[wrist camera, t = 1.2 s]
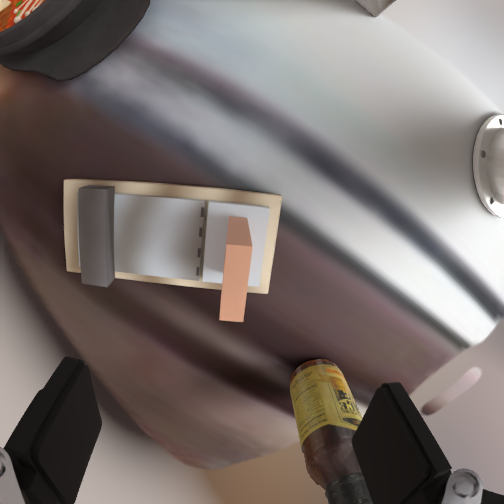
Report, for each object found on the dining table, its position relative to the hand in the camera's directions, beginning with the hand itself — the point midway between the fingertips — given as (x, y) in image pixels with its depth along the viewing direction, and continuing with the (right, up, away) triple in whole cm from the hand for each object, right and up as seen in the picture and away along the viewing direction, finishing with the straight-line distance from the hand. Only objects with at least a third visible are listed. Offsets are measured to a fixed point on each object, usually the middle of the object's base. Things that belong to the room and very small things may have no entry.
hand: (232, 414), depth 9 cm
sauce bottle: (+8, -9, +25) cm, 28 cm away
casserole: (-19, +32, +10) cm, 39 cm away
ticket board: (-7, +7, +19) cm, 21 cm away
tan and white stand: (-1, +6, +18) cm, 19 cm away
